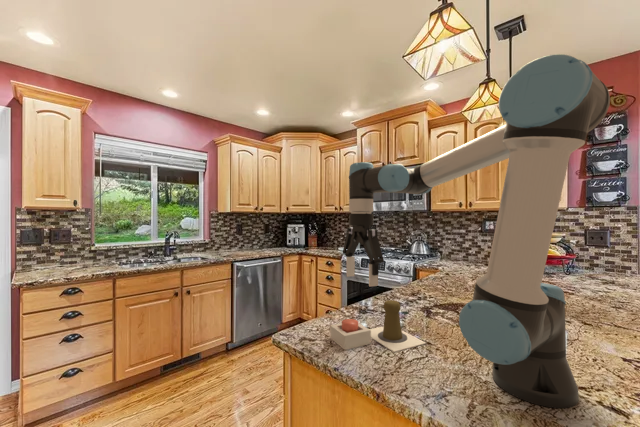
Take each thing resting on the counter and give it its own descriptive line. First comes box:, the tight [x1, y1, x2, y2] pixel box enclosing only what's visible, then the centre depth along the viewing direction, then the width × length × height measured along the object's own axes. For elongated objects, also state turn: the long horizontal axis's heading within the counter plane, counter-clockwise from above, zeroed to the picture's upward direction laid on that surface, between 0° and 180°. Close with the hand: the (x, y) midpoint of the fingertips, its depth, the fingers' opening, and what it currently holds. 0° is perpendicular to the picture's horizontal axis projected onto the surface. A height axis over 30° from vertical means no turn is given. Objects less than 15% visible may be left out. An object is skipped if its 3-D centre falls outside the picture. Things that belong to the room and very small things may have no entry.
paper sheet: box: [368, 325, 427, 353], centre depth 89 cm, size 16×12×1 cm
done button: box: [341, 318, 359, 333], centre depth 87 cm, size 5×5×3 cm
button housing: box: [329, 322, 372, 351], centre depth 87 cm, size 9×9×4 cm
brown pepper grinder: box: [383, 299, 403, 340], centre depth 89 cm, size 6×6×11 cm
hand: (361, 280), depth 89 cm, fingers open, 13 cm apart
